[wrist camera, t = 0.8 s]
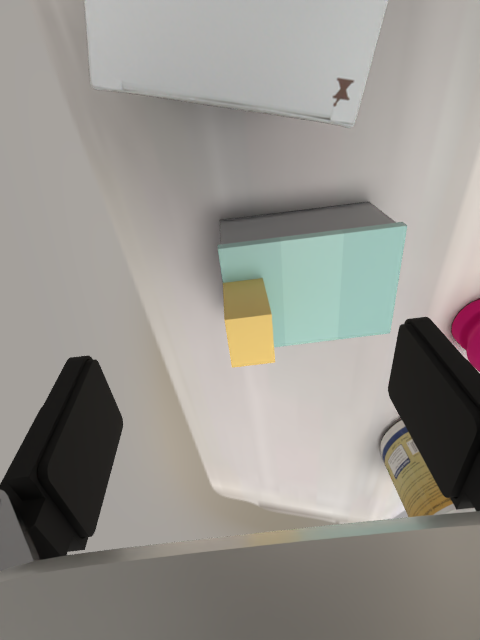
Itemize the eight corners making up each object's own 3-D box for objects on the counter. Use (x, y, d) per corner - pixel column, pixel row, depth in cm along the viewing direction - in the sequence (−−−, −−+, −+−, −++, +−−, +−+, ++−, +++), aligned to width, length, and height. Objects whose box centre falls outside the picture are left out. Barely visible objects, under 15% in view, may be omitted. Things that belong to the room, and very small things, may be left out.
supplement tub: (370, 465, 53) (427, 606, 39) (385, 409, 46) (462, 554, 32) (452, 459, 53) (538, 596, 39) (479, 402, 46) (595, 542, 32)
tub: (369, 201, 31) (399, 225, 26) (360, 292, 36) (384, 326, 31) (219, 220, 31) (220, 247, 26) (232, 307, 36) (234, 344, 31)
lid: (396, 217, 27) (445, 254, 21) (381, 321, 32) (418, 372, 26) (217, 239, 27) (218, 282, 21) (232, 339, 32) (236, 395, 26)
